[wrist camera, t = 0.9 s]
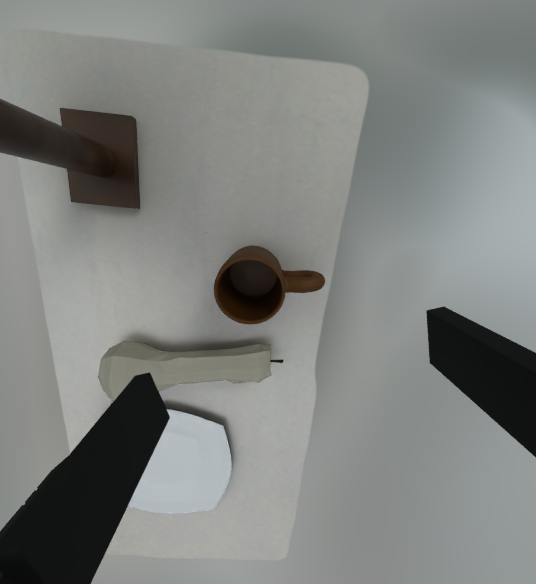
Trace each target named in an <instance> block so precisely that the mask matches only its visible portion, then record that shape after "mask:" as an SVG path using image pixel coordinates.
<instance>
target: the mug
mask: <svg viewBox="0 0 536 584" xmlns="http://www.w3.org/2000/svg"><path fill="white" fill-rule="evenodd" d="M324 284H325V279H324V277H323V275H322V274H320V273H318V272H315V271H306V270H301V271H284V270H282V269H281V266H280V264H279V261H278V260H277V258H276V257H275V256H274V255H273V254H272V253H271V252H270V251H269V250H267V249H265V248H262V247H258V246H248V247H244V248H242V249H240V250H238V251H236V252H235V253H234V254H233V255H232V256H231V257H230V258H229V259H228V260H227V261H226V262H225V263H224V264H223V266H222V267H221V269H220V271H219V273H218V275H217V277H216V280H215V284H214V295H215V299H216V302H217V304H218V306H219V308H220V309H221V311H222V312H223V313H224V314H225V315H226V316H228V317H229V318H230V319H232V320H234V321H236V322H239V323H243V324H258V323H262V322H264V321H267V320H268V319H270V318H271V317H273V316H274V315H275V314H276V313H277V312H278V311H279V309H280V308H281V306H282V304H283V301H284V298H285V293H286V292H295V293H307V292H313V291H317V290H319V289H321V288H322V287H323V285H324Z"/></svg>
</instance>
